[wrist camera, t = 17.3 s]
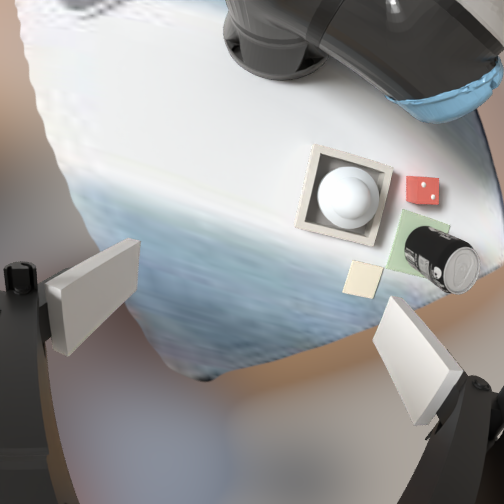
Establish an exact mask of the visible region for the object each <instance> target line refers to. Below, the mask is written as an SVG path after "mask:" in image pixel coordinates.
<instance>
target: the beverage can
mask: <svg viewBox="0 0 504 504" xmlns="http://www.w3.org/2000/svg"><path fill="white" fill-rule="evenodd" d="M404 252H405V257H406V260H407V262H408V263H409V264H410V265H411V266H412V267H413V268H414V269H416V270H417V271H418V272H420V273H421V274H422V275H424V276H425V277H426V278H427V279H429V280H430V281H431V282H433V283H434V284H435V285H436V286H438V287H439V288H440V289H441V290H443V291H444V292H447V293H453V294H463V293H465V292H467V291H468V290H469V289H471V288H472V286H473V285H474V284H475V282H476V280H477V278H478V276H479V272H480V259H479V256H478V254H477V253H476V251H475V250H474V249H473V248H472V246H471V245H470V244H469V243H467V242H465V241H463V240H461V239H458V238H456V237H454V236H451V235H449V234H447V233H444V232H442V231H439V230H437V229H435V228H432V227H430V226H420V227H418V228H416V229H414V230H413V231H412V232H411V233H410V234H409V236H408V238H407V240H406V243H405V248H404Z"/></svg>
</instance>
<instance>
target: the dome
mask: <svg viewBox="0 0 504 504" xmlns="http://www.w3.org/2000/svg"><path fill="white" fill-rule="evenodd" d="M317 201H318V205H319V208H320V210H321V212H322V213H323V215H324V216H325V217H326V218H327V219H328V220H329V221H331V222H332V223H333V224H335V225H336V226H338V227H341V228H345V229H354V228H358V227H361V226H363V225H365V224H366V223H368V222H369V221H370V220H371V219H372V218H373V216H374V215H375V213H376V211H377V208H378V205H379V191H378V187H377V185H376V183H375V181H374V180H373V178H372V177H371V176H370V175H369V174H368V173H367V172H365V171H364V170H362V169H359V168H356V167H339V168H335V169H333V170H331V171H330V172H328V173H327V174H326V175H325V176H324V177H323V178H322V180H321V182H320V184H319V186H318V190H317Z"/></svg>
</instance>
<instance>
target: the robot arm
mask: <svg viewBox="0 0 504 504" xmlns="http://www.w3.org/2000/svg"><path fill="white" fill-rule="evenodd" d="M225 1H226V4H227V7H228V10H229V11H228V13H227V16H226V19H225V22H224V27H223V35H224V41H225V44H226V46H227V49H228V51H229V53H230V55H231V56H232V58H233V59H234V60H235V61H236V62H237V63H238V64H239V65H240V66H241V67H242V68H244V69H245V70H247V71H248V72H250V73H252V74H255V75H257V76H260V77H263V78H267V79H274V80H290V79H296V78H300V77H303V76H306V75H308V74H310V73H312V72H314V71H315V70H317V69H318V68H319V67H320V66H322V65H323V63H324V62H325V61H326V60H327V58H328V57H329V55H330V56H332V57H333V58H335V59H336V60H338V61H339V62H341V63H342V64H344V65H345V66H347V67H348V68H350V69H351V70H353V71H354V72H355V73H357V74H358V75H360V76H361V77H362V78H364V79H365V80H366V81H368V82H369V83H370V84H372V85H373V86H374V87H376V88H377V89H378V90H379V91H381V92H382V93H383V94H384V95H385V97H386V98H387V99H388V100H389V101H391V102H393V103H396V104H398V105H399V106H401V107H402V108H403V109H404V110H406V111H407V112H408V113H409V114H411V115H412V116H413V117H414V118H416V119H417V120H419V121H421V122H426V123H432V124H440V123H446V122H450V121H453V120H456V119H458V118H460V117H463V116H465V115H466V114H468V113H470V112H472V111H473V110H475V109H476V108H478V107H479V106H480V105H482V104H483V103H484V102H485V101H486V100H487V99H488V98H489V97H490V96H491V95H492V90H493V89H495V88H497V87H498V86H499V85H500V83H501V81H502V78H503V71H504V69H503V65H502V63H501V59H500V57H499V56H498V55H499V54H500V53H501V52H502V51H503V50H504V0H225ZM140 244H141V241H139V240H134V239H130V238H127V239H125V240H123V241H121V242H119V243H117V244H115V245H113V246H111V247H109V248H107V249H106V250H104V251H102V252H100V253H98V254H96V255H95V256H93V257H91V258H89V259H87V260H85V261H83V262H82V263H80V264H78V265H76V266H74V267H70V268H66V269H64V270H62V271H60V272H58V273H57V274H55V275H53V276H52V277H49V278H48V279H46V280H44V281H42V282H41V283H39V284H37V272H36V266H35V265H34V264H32V263H29V262H14V263H11V264H8V265H7V266H5V268H4V277H5V285H6V292H5V291H0V504H80V503H79V501H78V498H77V496H76V493H75V490H74V487H73V484H72V481H71V478H70V475H69V471H68V468H67V465H66V461H65V457H64V454H63V450H62V446H61V442H60V438H59V433H58V428H57V424H56V419H55V413H54V408H53V401H52V395H51V389H50V380H49V372H48V362H47V350H46V345H45V341H46V340H48V339H49V338H50V337H51V340H52V345H53V350H55V351H57V352H59V353H62V354H64V355H66V356H68V357H69V356H70V355H71V353H72V352H73V351H74V350H75V349H76V348H77V347H78V346H79V345H80V344H81V343H82V342H83V341H84V340H85V339H86V338H87V337H88V336H89V335H90V334H91V333H92V332H93V331H94V330H95V329H96V328H97V327H99V326H100V325H101V324H102V323H103V322H104V321H105V320H106V318H108V317H109V316H110V315H111V314H112V313H113V312H114V311H115V310H116V309H117V308H118V307H119V306H120V305H121V304H122V303H123V302H125V301H126V300H127V299H128V298H129V297H130V296H131V295H132V294H133V293H134V292H135V291H136V290H137V280H138V266H139V254H140ZM373 342H374V344H375V346H376V348H377V350H378V352H379V354H380V356H381V358H382V360H383V361H384V364H385V365H386V368H387V370H388V372H389V374H390V376H391V378H392V380H393V382H394V384H395V386H396V388H397V391H398V392H399V395H400V397H401V399H402V401H403V403H404V405H405V408H406V410H407V412H408V414H409V416H410V418H411V421H412V423H413V425H414V426H417V425H428V424H429V423H430V422H431V420H432V419H433V417H434V416H435V415H436V414H437V416H438V418H439V421H438V423H437V424H436V425H435V427H434V428H433V429H432V431H431V432H430V433H429V434H428V436H427V437H426V438H425V440H427V439H428V438H430V439H429V441H428V443H427V446H426V448H425V451H424V453H423V455H422V457H421V459H420V461H419V464H418V465H417V467H416V470H415V472H414V474H413V475H412V477H411V480H410V481H409V483H408V485H407V487H406V489H405V491H404V492H403V494H402V496H401V498H400V499H399V501H398V503H397V504H504V430H503V428H504V386H503V388H502V389H501V391H500V392H499V393H495V392H492V390H491V387H490V385H489V384H488V383H487V382H486V381H485V380H484V379H482V378H480V377H478V376H473V375H471V376H468V375H467V374H466V372H465V371H464V370H463V369H462V367H461V366H460V365H459V364H458V363H457V362H456V360H455V359H454V357H452V355H451V354H450V352H449V351H448V350H447V349H446V348H445V347H444V346H443V344H442V343H441V342H440V341H439V340H438V338H437V337H436V336H435V335H434V334H433V333H432V332H431V330H430V329H429V328H428V327H427V325H426V324H425V323H424V322H423V321H422V320H421V319H420V317H419V316H418V315H417V314H416V313H415V312H414V311H413V309H412V308H411V307H410V306H409V305H408V304H407V303H406V302H405V300H404V299H403V298H400V297H395V296H390V298H389V301H388V304H387V306H386V309H385V311H384V314H383V317H382V319H381V321H380V324H379V326H378V329H377V331H376V333H375V336H374V338H373ZM502 430H503V433H502V435H501V436H500V438H499V439H498V438H497V436H498V435H499V434H500V432H501V431H502Z"/></svg>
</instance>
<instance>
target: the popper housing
mask: <svg viewBox="0 0 504 504" xmlns="http://www.w3.org/2000/svg"><path fill="white" fill-rule="evenodd" d="M339 167H356V168H359V169H362V170H364V171H365V172H367V173H368V174H369V175H370V176H371V177H372V178H373V180H374V181H375V183H376V185H377V187H378V191H379V205H378V208H377V211H376V213H375V215H374V216H373V218H372V219H371V220H370V221H369V222H368V223H366V224H365V225H363V226H361V227H358V228H354V229H345V228H341V227H338V226H336V225H335V224H333V223H332V222H331V221H329V220H328V219H327V218H326V217H325V216H324V215H323V213H322V212H321V210H320V208H319V205H318V201H317V190H318V186H319V184H320V182H321V180H322V178H323V177H324V176H325V175H326V174H327V173H328V172H330V171H331V170H333V169H335V168H339ZM392 172H393V167H391V166H388V165H385V164H382V163H379V162H376V161H373V160H369V159H366V158H363V157H360V156H357V155H353V154H350V153H347V152H343V151H340V150H336V149H332V148H329V147H325V146H321V145H318V144H313V145H312V147H311V152H310V156H309V161H308V165H307V170H306V174H305V178H304V183H303V187H302V191H301V196H300V200H299V204H298V208H297V213H296V217H295V221H294V226H295V228H298V229H303V230H307V231H311V232H315V233H320V234H324V235H328V236H332V237H336V238H340V239H344V240H348V241H352V242H356V243H360V244H364V245H368V246H372V247H373V246H374V242H375V239H376V236H377V232H378V228H379V225H380V221H381V218H382V214H383V210H384V206H385V202H386V198H387V194H388V190H389V186H390V181H391V177H392Z"/></svg>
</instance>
